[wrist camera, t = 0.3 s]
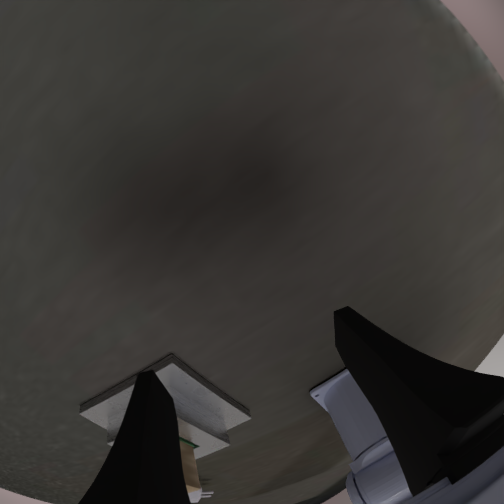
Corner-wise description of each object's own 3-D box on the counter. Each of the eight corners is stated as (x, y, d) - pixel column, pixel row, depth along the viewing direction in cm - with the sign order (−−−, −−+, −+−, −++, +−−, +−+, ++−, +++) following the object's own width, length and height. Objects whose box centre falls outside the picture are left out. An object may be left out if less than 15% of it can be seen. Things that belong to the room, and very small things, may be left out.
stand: (249, 410, 31) (259, 444, 27) (162, 449, 31) (166, 481, 28) (171, 353, 24) (176, 396, 21) (80, 405, 25) (76, 443, 21)
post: (190, 422, 28) (202, 489, 21) (165, 433, 28) (174, 497, 22) (167, 409, 26) (177, 481, 20) (143, 421, 26) (148, 489, 20)
